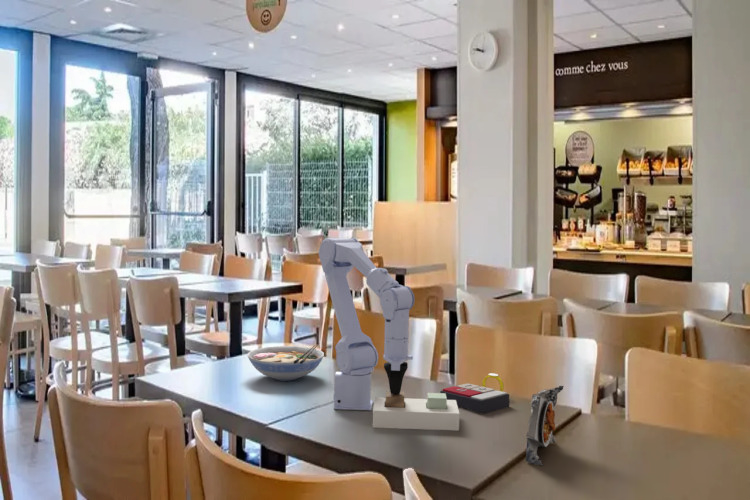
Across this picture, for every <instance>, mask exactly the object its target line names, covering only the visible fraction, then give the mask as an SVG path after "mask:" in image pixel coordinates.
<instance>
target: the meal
mask: <svg viewBox="0 0 750 500" xmlns="http://www.w3.org/2000/svg"><path fill="white" fill-rule="evenodd" d="M563 389H564V385H559V386H557V387H552V388H549V389H546V388H543V389H542V390H539V391H538V392H537V393H534V394H532V395H531V401H530V408H531V409H530V412H531V415H530V416H529V418H528V423H527V425H528V431H527V432H526V435H525V436H526V449H525V461H526V462H527V463H529V464H531V465H537V466H538V465H540V466H544V464H543V462H542V461H541V460H540V456H539V455H538V448H539V447H542V448H547V446H548V445H549V444H552V443H553V444H555V443H556V438H555V436H554V435H553V432H554V431H556V429H557V428H556V423H555V416H556V412H555V410H554V409H555V406H556V404H557V403H558V394H559V393H560V392H561V391H563Z"/></svg>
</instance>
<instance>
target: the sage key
mask: <svg viewBox="0 0 750 500" xmlns="http://www.w3.org/2000/svg"><path fill="white" fill-rule="evenodd" d="M426 396H427V397H426V399H427V409H446V407H447V397H446V393H440V392H427V395H426Z"/></svg>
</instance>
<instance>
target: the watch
mask: <svg viewBox="0 0 750 500" xmlns="http://www.w3.org/2000/svg"><path fill="white" fill-rule="evenodd" d="M488 378H490V379H496V380H497V381H498V383H499V387H500V390H499V391H502V392H504V388H505V387H504V386H505V385H504V381H503V379H502V378H501V377H500V376H499V374H497V373H491V372H490V373H488V375H486V376H485V377H484V378H483V379H482V383H481V387H487V386H486V383H487V382H486V381H487V379H488Z"/></svg>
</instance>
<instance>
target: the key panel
mask: <svg viewBox="0 0 750 500" xmlns="http://www.w3.org/2000/svg"><path fill="white" fill-rule="evenodd" d="M373 403H374V404H373V407H372V428H373V429H374V428H375V429H376V428H378V429H402V430H403V429H405V430H408V429H409V430H431V431H432V430H433V431H460V411H459V406H457V402H456V400H447V407H446V409H427V398H409V397H408V398H407V397H406V398H405V397H404V408H393V407H386V397H378V396H377V397H374V401H373Z"/></svg>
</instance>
